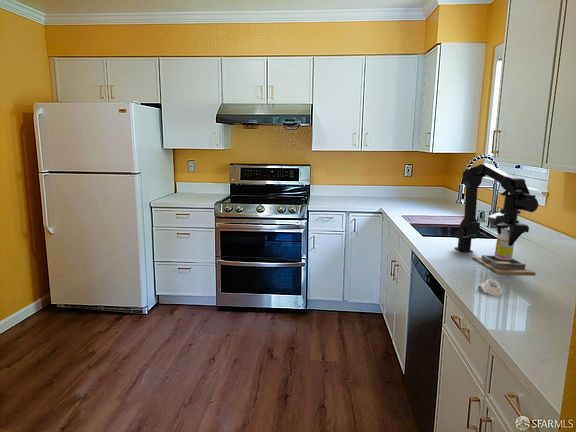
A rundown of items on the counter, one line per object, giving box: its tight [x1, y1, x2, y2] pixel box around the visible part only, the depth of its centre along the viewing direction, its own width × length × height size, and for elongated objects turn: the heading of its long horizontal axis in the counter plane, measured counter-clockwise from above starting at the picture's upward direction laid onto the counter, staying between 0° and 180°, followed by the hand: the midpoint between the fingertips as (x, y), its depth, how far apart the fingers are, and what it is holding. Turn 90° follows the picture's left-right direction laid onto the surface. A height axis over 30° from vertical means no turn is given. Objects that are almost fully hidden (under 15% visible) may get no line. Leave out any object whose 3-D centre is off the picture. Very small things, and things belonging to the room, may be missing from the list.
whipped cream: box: [477, 278, 503, 296], centre depth 141 cm, size 8×7×5 cm
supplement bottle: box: [494, 227, 515, 260], centre depth 170 cm, size 7×7×13 cm
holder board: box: [472, 254, 537, 276], centre depth 171 cm, size 20×16×3 cm
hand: (505, 243), depth 170 cm, fingers closed on supplement bottle, 7 cm apart
